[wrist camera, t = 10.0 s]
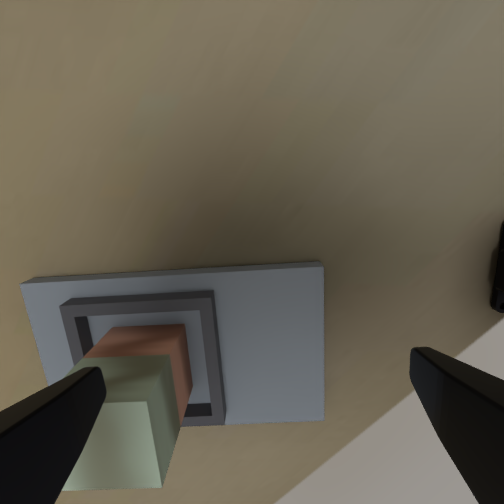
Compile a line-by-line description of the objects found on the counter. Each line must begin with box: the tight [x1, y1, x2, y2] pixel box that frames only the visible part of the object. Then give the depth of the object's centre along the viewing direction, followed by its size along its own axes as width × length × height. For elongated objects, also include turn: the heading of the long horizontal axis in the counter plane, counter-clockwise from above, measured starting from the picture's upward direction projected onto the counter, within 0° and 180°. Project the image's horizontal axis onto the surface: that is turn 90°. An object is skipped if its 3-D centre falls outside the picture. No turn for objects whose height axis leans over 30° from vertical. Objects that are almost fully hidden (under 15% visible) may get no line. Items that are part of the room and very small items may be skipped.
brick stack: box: [62, 324, 193, 491], centre depth 17 cm, size 5×5×7 cm
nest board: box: [20, 261, 324, 427], centre depth 20 cm, size 20×12×2 cm, turn 94°
